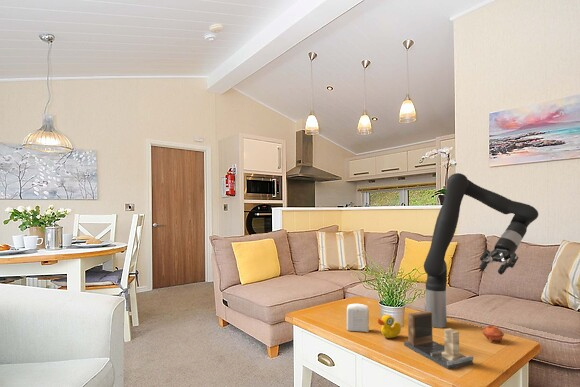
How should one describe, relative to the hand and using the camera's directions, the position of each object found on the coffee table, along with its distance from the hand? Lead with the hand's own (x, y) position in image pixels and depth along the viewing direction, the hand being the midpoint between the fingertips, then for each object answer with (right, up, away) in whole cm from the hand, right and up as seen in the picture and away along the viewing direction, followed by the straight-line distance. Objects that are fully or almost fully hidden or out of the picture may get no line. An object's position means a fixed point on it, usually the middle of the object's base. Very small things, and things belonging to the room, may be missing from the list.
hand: (490, 271), depth 145 cm
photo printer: (-53, -32, +16) cm, 64 cm away
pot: (+3, -31, +3) cm, 31 cm away
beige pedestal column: (-24, -28, -17) cm, 41 cm away
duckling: (-40, -31, +7) cm, 52 cm away
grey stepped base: (-27, -30, -10) cm, 42 cm away
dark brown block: (-30, -29, -2) cm, 42 cm away
